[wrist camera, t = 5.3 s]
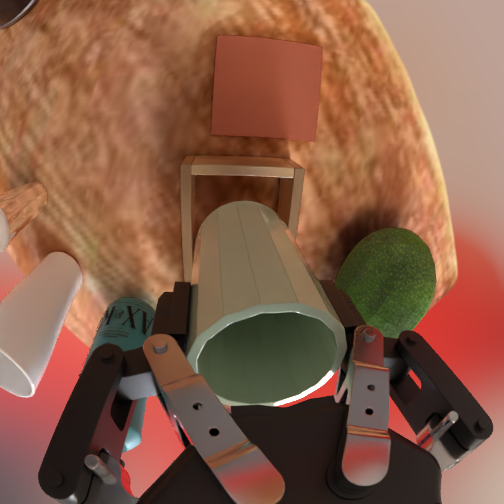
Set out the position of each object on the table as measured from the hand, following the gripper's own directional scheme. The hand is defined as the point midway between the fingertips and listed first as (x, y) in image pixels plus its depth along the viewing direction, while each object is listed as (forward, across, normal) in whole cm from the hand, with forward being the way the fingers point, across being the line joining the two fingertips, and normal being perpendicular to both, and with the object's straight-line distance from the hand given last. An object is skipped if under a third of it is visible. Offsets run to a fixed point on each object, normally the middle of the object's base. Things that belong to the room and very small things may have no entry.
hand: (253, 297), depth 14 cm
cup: (+6, 0, 0) cm, 6 cm away
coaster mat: (+14, -2, -11) cm, 18 cm away
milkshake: (+14, +21, -2) cm, 25 cm away
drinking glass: (+14, +19, +7) cm, 25 cm away
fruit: (+14, -14, +8) cm, 21 cm away
